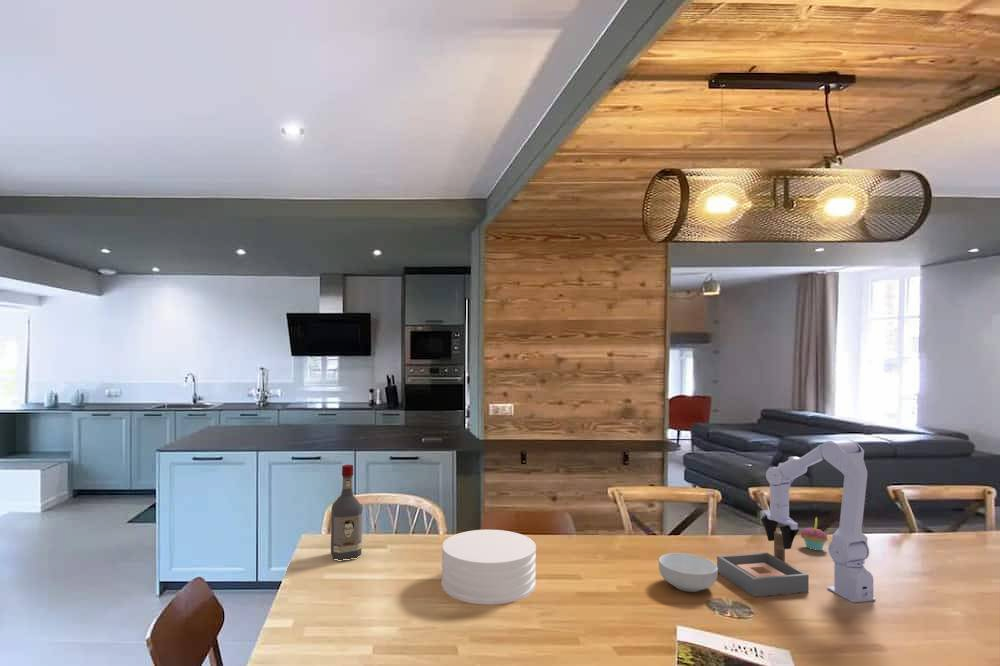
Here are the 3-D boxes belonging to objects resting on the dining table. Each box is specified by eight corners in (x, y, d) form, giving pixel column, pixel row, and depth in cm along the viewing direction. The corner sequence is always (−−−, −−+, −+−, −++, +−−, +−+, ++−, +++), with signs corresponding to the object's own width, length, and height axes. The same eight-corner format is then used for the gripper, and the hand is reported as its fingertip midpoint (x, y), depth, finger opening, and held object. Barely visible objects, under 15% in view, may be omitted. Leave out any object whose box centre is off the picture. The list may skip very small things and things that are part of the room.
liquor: (329, 553, 188) (331, 464, 189) (357, 549, 192) (358, 462, 193) (333, 562, 180) (335, 469, 181) (362, 558, 184) (364, 467, 185)
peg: (787, 564, 184) (787, 534, 184) (778, 565, 183) (778, 534, 183) (780, 560, 187) (780, 530, 187) (771, 561, 186) (771, 531, 186)
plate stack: (422, 591, 161) (423, 551, 161) (472, 559, 185) (472, 524, 186) (509, 613, 148) (509, 570, 148) (550, 576, 172) (550, 538, 173)
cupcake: (832, 553, 195) (832, 518, 195) (808, 552, 195) (808, 518, 195) (819, 544, 203) (819, 511, 204) (795, 543, 204) (795, 510, 204)
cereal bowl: (722, 601, 156) (722, 576, 156) (661, 596, 159) (661, 571, 159) (712, 577, 173) (712, 554, 173) (656, 572, 176) (656, 550, 176)
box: (808, 592, 163) (808, 574, 163) (754, 597, 159) (754, 579, 159) (766, 568, 180) (766, 552, 181) (717, 571, 177) (717, 556, 177)
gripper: (754, 497, 192) (754, 537, 191) (784, 510, 177) (784, 553, 177) (772, 497, 193) (772, 536, 193) (803, 509, 179) (803, 551, 179)
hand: (779, 544), depth 185 cm, fingers open, 7 cm apart
